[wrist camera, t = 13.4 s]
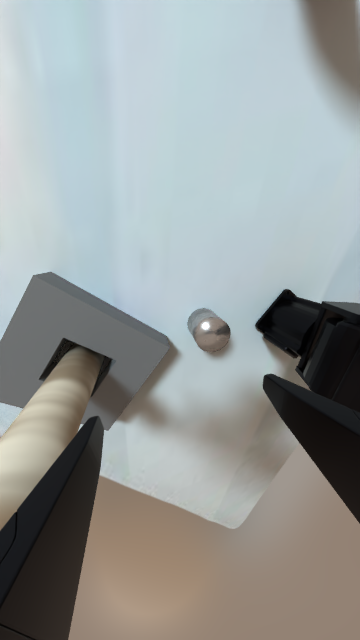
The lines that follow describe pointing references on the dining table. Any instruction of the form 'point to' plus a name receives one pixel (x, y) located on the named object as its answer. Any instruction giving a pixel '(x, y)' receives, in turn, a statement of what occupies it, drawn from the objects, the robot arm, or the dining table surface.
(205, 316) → the steel stub
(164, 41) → the dining table surface
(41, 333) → the plate
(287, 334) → the robot arm
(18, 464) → the birch pin
